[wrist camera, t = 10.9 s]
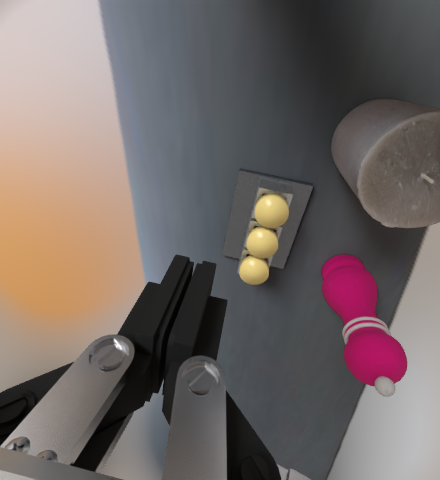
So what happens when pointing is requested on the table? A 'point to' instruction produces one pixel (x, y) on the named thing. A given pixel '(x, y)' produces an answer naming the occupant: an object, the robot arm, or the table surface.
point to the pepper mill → (363, 324)
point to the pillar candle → (392, 160)
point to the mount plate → (244, 213)
